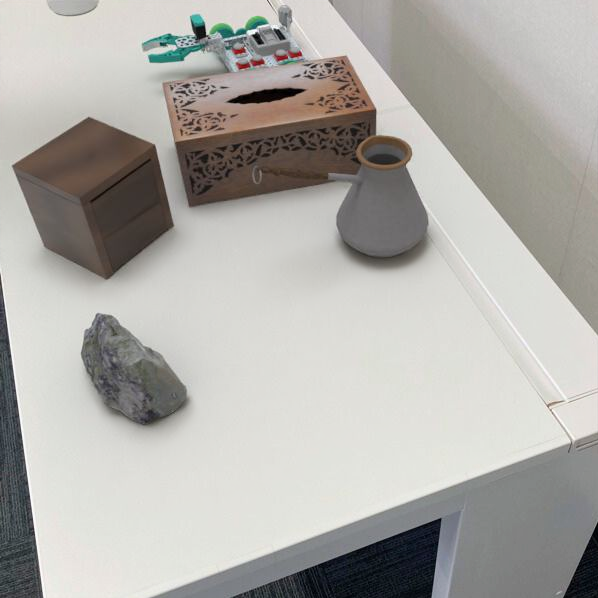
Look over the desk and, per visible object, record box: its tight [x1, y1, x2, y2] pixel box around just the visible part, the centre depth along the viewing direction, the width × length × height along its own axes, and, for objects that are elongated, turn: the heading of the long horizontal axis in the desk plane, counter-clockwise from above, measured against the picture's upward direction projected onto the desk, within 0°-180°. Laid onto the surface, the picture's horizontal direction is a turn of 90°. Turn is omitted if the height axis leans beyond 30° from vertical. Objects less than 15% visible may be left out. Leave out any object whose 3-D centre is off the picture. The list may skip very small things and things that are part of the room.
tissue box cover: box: [161, 55, 377, 208], centre depth 105 cm, size 26×14×10 cm, turn 106°
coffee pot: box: [252, 134, 430, 258], centre depth 91 cm, size 21×12×15 cm, turn 113°
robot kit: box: [141, 4, 310, 73], centre depth 121 cm, size 19×25×9 cm
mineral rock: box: [80, 312, 188, 425], centre depth 79 cm, size 13×11×10 cm
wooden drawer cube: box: [11, 116, 175, 280], centre depth 94 cm, size 11×12×12 cm
